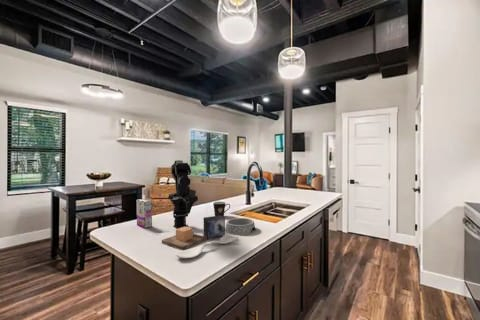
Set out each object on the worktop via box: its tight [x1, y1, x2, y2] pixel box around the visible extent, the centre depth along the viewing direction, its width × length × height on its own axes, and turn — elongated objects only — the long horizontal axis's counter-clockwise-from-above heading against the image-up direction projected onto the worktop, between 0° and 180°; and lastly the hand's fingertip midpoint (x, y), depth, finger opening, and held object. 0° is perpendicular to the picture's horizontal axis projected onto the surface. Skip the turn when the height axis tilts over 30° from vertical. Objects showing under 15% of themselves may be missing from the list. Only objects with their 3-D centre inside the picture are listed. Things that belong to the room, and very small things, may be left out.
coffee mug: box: [212, 201, 231, 218], centre depth 169 cm, size 12×9×10 cm
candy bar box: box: [136, 198, 153, 229], centre depth 149 cm, size 11×5×16 cm, turn 49°
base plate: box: [161, 233, 208, 251], centre depth 121 cm, size 16×16×4 cm
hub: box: [175, 226, 194, 241], centre depth 121 cm, size 6×6×5 cm
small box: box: [202, 215, 226, 241], centre depth 128 cm, size 11×6×10 cm, turn 117°
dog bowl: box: [225, 217, 257, 236], centre depth 139 cm, size 17×18×5 cm
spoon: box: [175, 232, 238, 259], centre depth 111 cm, size 9×32×4 cm, turn 135°
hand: (183, 212), depth 133 cm, fingers open, 9 cm apart
